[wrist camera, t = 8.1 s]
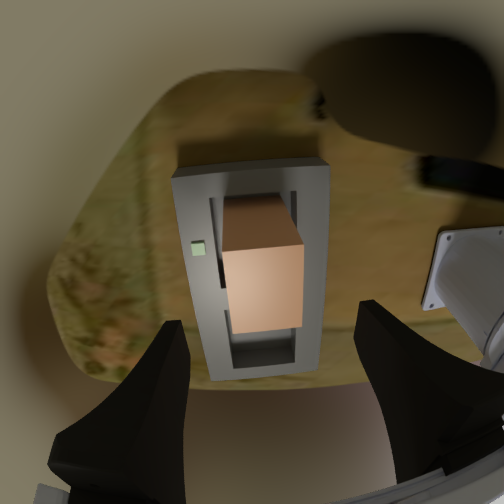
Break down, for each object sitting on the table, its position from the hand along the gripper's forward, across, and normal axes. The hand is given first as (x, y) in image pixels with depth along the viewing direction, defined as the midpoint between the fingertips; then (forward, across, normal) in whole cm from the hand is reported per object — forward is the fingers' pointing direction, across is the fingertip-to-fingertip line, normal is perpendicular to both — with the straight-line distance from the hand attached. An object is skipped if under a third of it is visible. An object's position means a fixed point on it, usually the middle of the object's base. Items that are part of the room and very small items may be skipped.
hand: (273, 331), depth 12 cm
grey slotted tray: (+10, 0, +4) cm, 11 cm away
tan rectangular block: (+10, 0, 0) cm, 10 cm away
